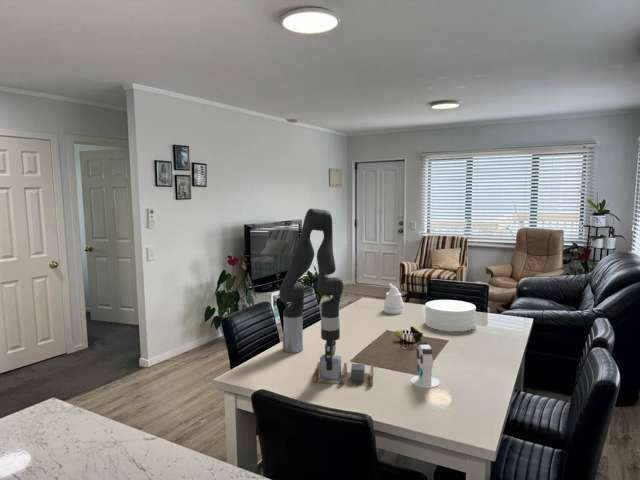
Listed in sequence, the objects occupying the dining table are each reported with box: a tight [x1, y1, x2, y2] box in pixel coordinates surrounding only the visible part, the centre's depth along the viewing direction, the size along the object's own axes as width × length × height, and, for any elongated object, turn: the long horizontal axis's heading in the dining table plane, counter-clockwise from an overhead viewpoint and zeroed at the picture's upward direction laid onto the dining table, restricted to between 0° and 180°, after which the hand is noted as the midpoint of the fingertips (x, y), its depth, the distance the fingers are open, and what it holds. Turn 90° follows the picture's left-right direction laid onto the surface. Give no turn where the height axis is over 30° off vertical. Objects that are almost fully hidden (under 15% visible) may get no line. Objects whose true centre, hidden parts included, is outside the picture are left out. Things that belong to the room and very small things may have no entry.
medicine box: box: [319, 353, 342, 380], centre depth 174 cm, size 8×4×9 cm, turn 73°
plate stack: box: [424, 299, 477, 332], centre depth 251 cm, size 28×28×12 cm
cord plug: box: [350, 363, 366, 382], centre depth 175 cm, size 5×10×5 cm, turn 172°
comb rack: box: [313, 361, 374, 387], centre depth 174 cm, size 23×12×5 cm, turn 81°
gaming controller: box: [395, 325, 425, 343], centre depth 224 cm, size 15×6×10 cm
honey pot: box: [383, 283, 405, 315], centre depth 281 cm, size 13×13×18 cm
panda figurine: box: [409, 340, 441, 389], centre depth 172 cm, size 12×11×15 cm
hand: (330, 366), depth 174 cm, fingers open, 8 cm apart
